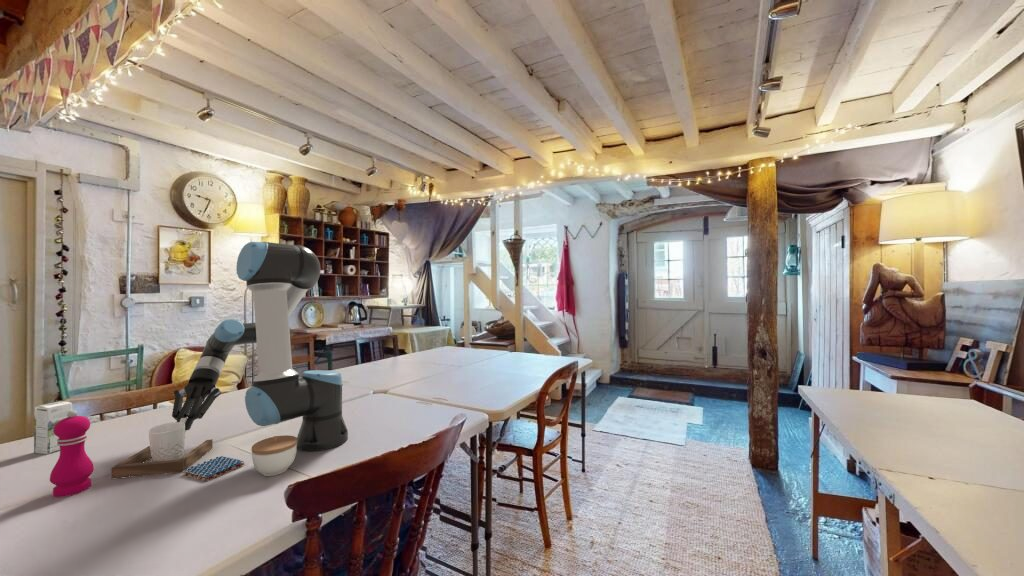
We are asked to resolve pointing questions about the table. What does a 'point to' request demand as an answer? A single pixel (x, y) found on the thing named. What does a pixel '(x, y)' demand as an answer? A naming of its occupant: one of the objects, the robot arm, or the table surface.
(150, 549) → the table surface
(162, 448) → the white cup
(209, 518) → the table surface
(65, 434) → the pepper mill
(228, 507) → the table surface
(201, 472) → the woven mat
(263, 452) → the lidded jar
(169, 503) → the table surface
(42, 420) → the syrup box
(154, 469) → the walnut bay
